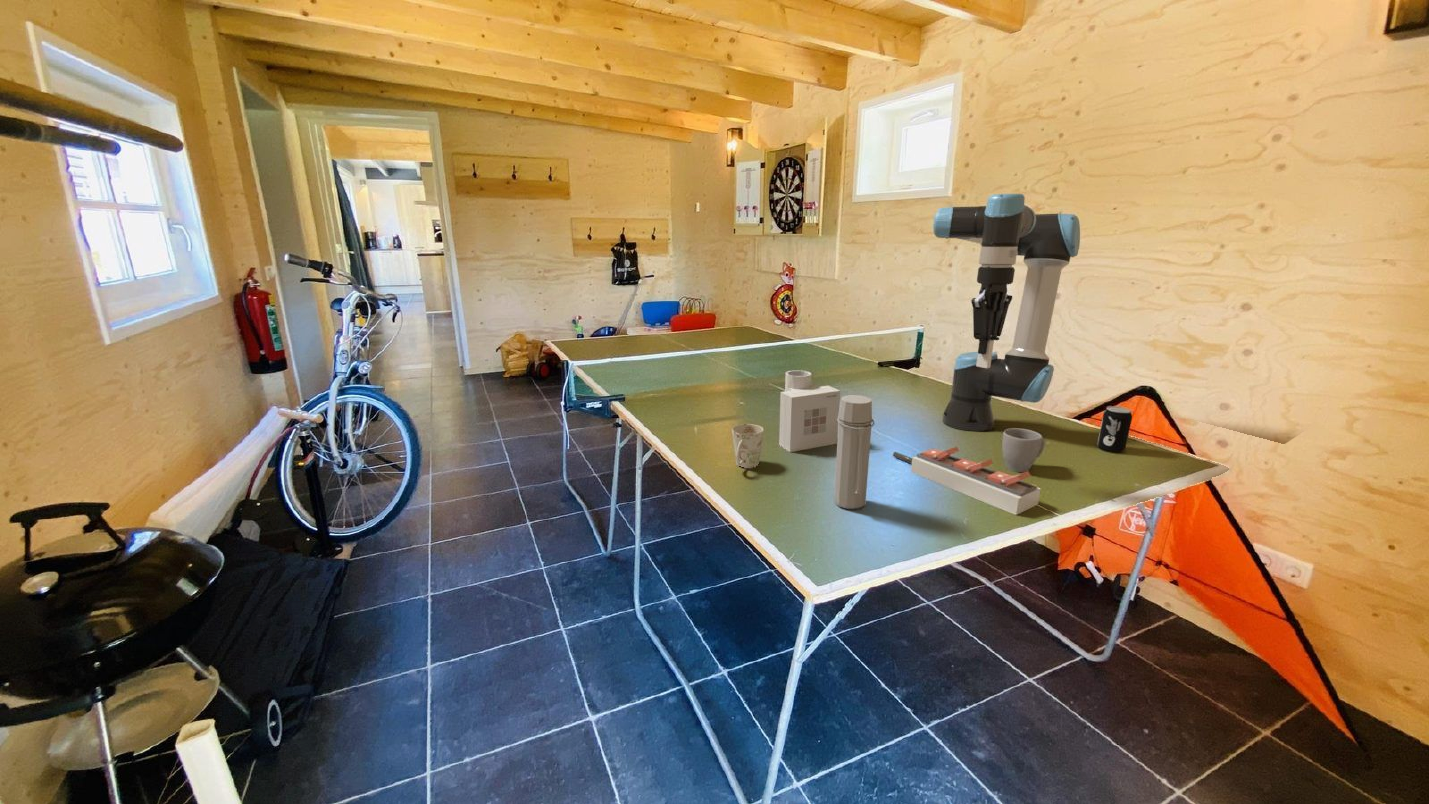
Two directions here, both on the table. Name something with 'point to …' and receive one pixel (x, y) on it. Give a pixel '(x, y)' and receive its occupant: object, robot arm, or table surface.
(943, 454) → the rocker
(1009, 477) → the rocker
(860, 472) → the water bottle
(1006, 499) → the power strip
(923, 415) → the table surface
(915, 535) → the table surface
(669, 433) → the table surface
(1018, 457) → the mug
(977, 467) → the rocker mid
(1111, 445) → the beverage can
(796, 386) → the white detergent container
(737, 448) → the mug
